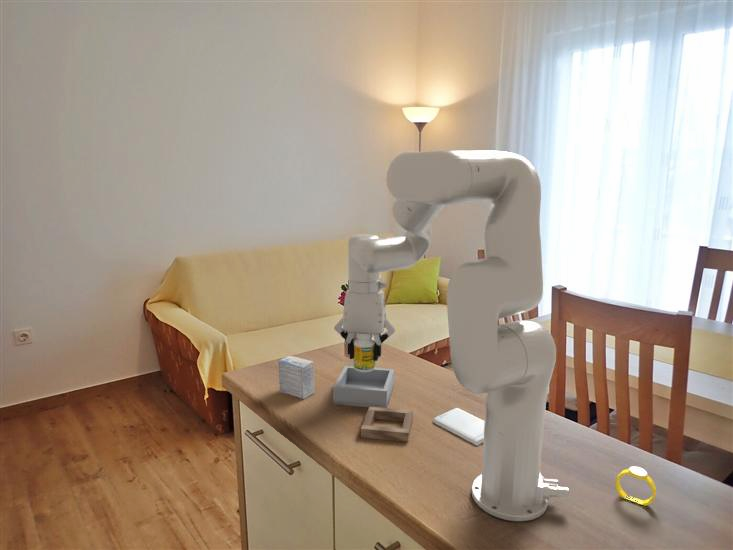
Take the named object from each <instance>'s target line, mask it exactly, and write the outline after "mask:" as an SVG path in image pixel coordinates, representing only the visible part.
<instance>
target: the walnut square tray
mask: <svg viewBox="0 0 733 550" xmlns="http://www.w3.org/2000/svg"><path fill="white" fill-rule="evenodd" d="M375 419H378V420H388V421H389V420H390V421H399V422H400V421H401V422H403V423H402V427H401V428H399V427H387V426H378V425H377V426H376V425H374V422H375ZM413 420H414V410H411V409H399V408H389V407H387V408H379V407H368V410H367V411H366V415H365V417H364V420H363V423H362V425H361V427H360V437H361V438H365V439H377V440H385V441H386V440H388V441H396V442H409V440H410V435H411V432H412V431H411V430H412V427H413V426H412V424H413Z"/></svg>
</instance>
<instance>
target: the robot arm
mask: <svg viewBox="0 0 733 550" xmlns="http://www.w3.org/2000/svg"><path fill="white" fill-rule="evenodd" d="M385 179H386V187H387V190H388V191H389V194H390V195H391V196H392V197H393V198H395V201H394V202H393V204H392V209H391V210H392V216H393V218H394V220H395V222H396V223H397V224H398V225H399V226H400V227H401V228H403V229H404V230H405V231H406V232H405V233H404V234H402V235H398V236H385V237H379V236H378V235H376V234H370V233H357V234H353V235H351V236H350V237H349V238H348V242H347V244H348V245H347V247H348V248H347V249H348V253H347V254H348V260H347V261H348V262H347V263H348V264H347V265H348V289H347V290H346V291H345V296H344V301H343V313H342V318H341V319H340V320H339V321H337V323H336V324H335V325H334V327H333V329H334V331H335V332H337V334H339V335H340V336H341V338H343V340H344V341H345V342H346V343H347V355H349V360H354V340H355V339H354V337H355V335H356V333H367V334H373V339H374V340H375V345H374V360H375V362H378V361H379V358H380V357H381V356H382V344H383V342H385V341H386V340H387V339H388V338H389V337H391V336H392V335H393V334H395V332H396V328H395V327H394V326H393V325H392V324H391V322H390V321H389V320H388V319H387V310H386V308H387V307H386V297H385V293H384V292H385V291H384V290H382V289H386V288H387V282H383V281H382V280H381V273H385V272H391V271H398V270H404V269H405V270H406V269H409V268H412V267H413V266H415V265H416V264H417V263H419V262H420V261H421V260H422V258H423V257H424V256H425V255H426V253H427V252H428V251H429V249H430V247H431V245H432V240H433V228H432V223H433V222H434V221H435V220H436V217H438V215H439V214H440V213H441V212H442V210H443V209H444V208H445V207H446V206H456V205H457V206H459V205H472V204H473V205H475V204H483V203H484V204H485V203H487V204H489V203H491V204H493V206H492V208H491V210H490V211H489V214H488V216H487V219H486V223H485V226H484V236H483V237H484V248H485V251H484V252H485V254H484V258H478V259H473V260H472V259H471V260H469V261H465V262H463V263H461V264H460V265H459V266H457V267H456V268H455V269H454V270H453V273H451V276H450V278H449V281H448V284H447V289H446V308H447V309H446V311H447V323H448V334H449V335H448V338H449V351H450V352H449V353H450V359H451V360H450V361H451V366H452V370H453V373H454V375H455V378H456V380H457V381H458V383H459V385H461V387H463V389H464V390H466V391H468V392H470V393H473V394H482V395H483V394H486V398H485V406H484V407H485V409H484V421H485V422H484V441H483V443H482V444H483V446H482V462H481V463H482V464H481V465H482V466H481V474H480V475H478V476H476V478H475V479H474V480H473V482H472V484H471V485H472V486H471V496H472V498H473V500H474V502H475V503H476V504H477V506H478V507H479V508H480V509H482V510H483V511H484V512H486V513H487V514H489V515H491V516H493V517H496V518H498V519H501V520H504V521H505V520H506V521H511V522H527V521H532V520H535V519H538V518H540V517H541V516H542V515H543V514H544V513H545V512H546V511H547V509H548V500H549V498H554V499H560V500H569V499H570V489H569V488H568V487H567V486H559V479H556V478H546V477H544V476H542V474H541V465H542V453H543V440H544V426H545V420H546V419H545V417H546V405H547V400H548V398H547V397H548V392H549V387H550V382H551V379H552V376H553V372H554V370H555V366H556V365H555V364H556V358H557V346H556V344H555V343H556V342H555V340H554V338H553V336H552V334H551V333H550V331H549V330H548V329H547V328H546V327H545V326H543V325H542V324H540V323H538V322H536V321H531V320H525V319H524V320H521V319H520V320H514V321H510V322H506V323H501V324H499V323H498V322H499V321H498V320H499V319H503V318H504V319H505V318H508V317H512V316H516V315H519V314H523V313H527V312H529V311H532V310H534V309H535V308H537V307H538V306H539V305H540V304H541V301H542V299H543V294H544V293H543V292H544V277H543V274H544V273H543V257H542V240H541V228H540V227H541V226H540V225H541V224H540V221H541V204H542V203H541V201H542V186H541V180H540V177H539V174H538V172H537V170H536V168H535V167H534V165H533V164H532V163H531V162H530V160H528V159H527V158H525V157H524V156H522V155H519V154H517V153H514V152H510V151H509V152H508V151H502V150H433V151H404V152H402V153H399V154H398V155H396V157H395V158H393V159H392V161H391V162H390V164H389V166H388V169H387V171H386V178H385ZM384 329H386V331H385V332H384ZM382 333H383V334H382Z"/></svg>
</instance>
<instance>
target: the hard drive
mask: <svg viewBox="0 0 733 550" xmlns="http://www.w3.org/2000/svg"><path fill="white" fill-rule="evenodd" d="M432 422H433V424H436V425H437V426H438V427H440V428H443V429H444V430H446V431H449V432H450V433H452V434H454V435H457V436H458V437H460V438H461V439H463V440H465V441H467V442H470V444H471V443H472V444H473V445H474V446H479V445H481V444H483V441H484V422H485V420H483V419H481V418H479V417H477V416H475V415H473V414H471V413H469V412H467V411H465V410H463V409H461V408H458V407H455V408H453V409H450V410H448V411H446V412H443V414H440V415H437V416H436V417H434V418H433V421H432Z"/></svg>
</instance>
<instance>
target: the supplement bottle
mask: <svg viewBox="0 0 733 550" xmlns="http://www.w3.org/2000/svg"><path fill="white" fill-rule="evenodd" d="M355 337H356V338H355V339H354V358H353V367H354V369H355V370H356V371H359V372H370V371H373V370H374V369H375V368H376V361H375V360H374V345H375V342H376V341H375V338H374V335H373V334H367V333H355Z"/></svg>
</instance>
